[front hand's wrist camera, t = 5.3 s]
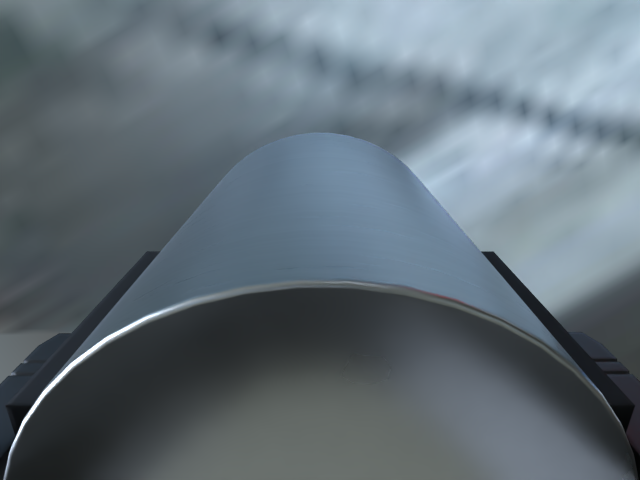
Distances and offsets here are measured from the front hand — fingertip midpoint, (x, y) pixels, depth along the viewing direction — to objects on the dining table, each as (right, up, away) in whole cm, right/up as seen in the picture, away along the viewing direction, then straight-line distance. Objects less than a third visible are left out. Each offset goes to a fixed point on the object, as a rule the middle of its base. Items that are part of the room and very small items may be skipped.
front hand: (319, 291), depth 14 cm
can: (0, +1, +3) cm, 3 cm away
